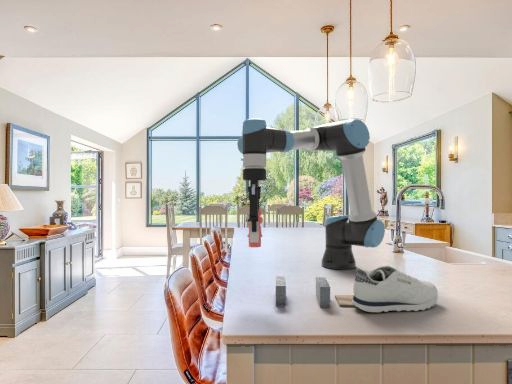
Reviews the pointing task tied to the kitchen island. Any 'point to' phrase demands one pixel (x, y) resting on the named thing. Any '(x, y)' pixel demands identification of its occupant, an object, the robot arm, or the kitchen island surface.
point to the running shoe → (392, 291)
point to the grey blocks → (321, 291)
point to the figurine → (258, 244)
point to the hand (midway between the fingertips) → (254, 240)
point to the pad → (345, 300)
